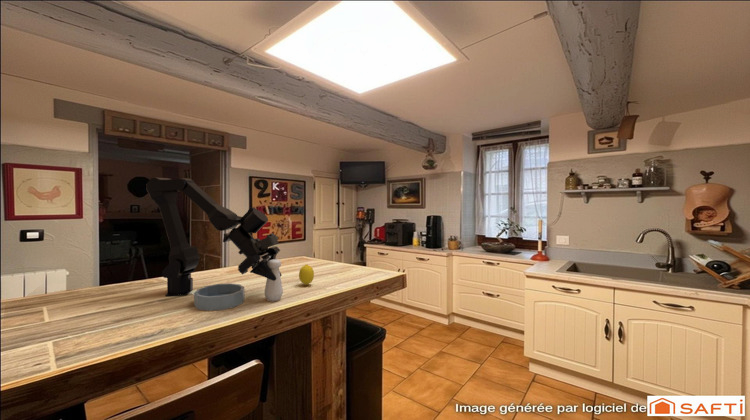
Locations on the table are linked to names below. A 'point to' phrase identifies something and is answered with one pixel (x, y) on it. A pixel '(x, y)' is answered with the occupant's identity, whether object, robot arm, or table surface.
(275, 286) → the salt shaker
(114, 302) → the table surface
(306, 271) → the lemon
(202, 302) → the bowl
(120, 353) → the table surface
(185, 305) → the table surface
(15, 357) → the table surface
